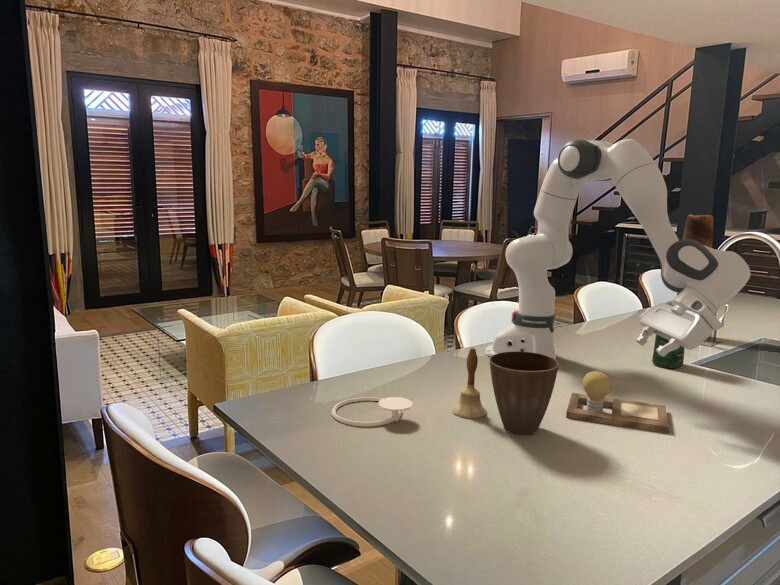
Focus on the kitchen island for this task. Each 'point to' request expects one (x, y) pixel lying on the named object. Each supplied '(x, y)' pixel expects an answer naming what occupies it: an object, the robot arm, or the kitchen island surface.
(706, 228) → the wafer roll
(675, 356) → the coffee jar
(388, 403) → the hand towel holder
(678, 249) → the robot arm
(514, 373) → the plant pot
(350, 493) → the kitchen island surface
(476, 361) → the hand bell
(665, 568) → the kitchen island surface
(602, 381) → the light bulb
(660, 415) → the socket board
